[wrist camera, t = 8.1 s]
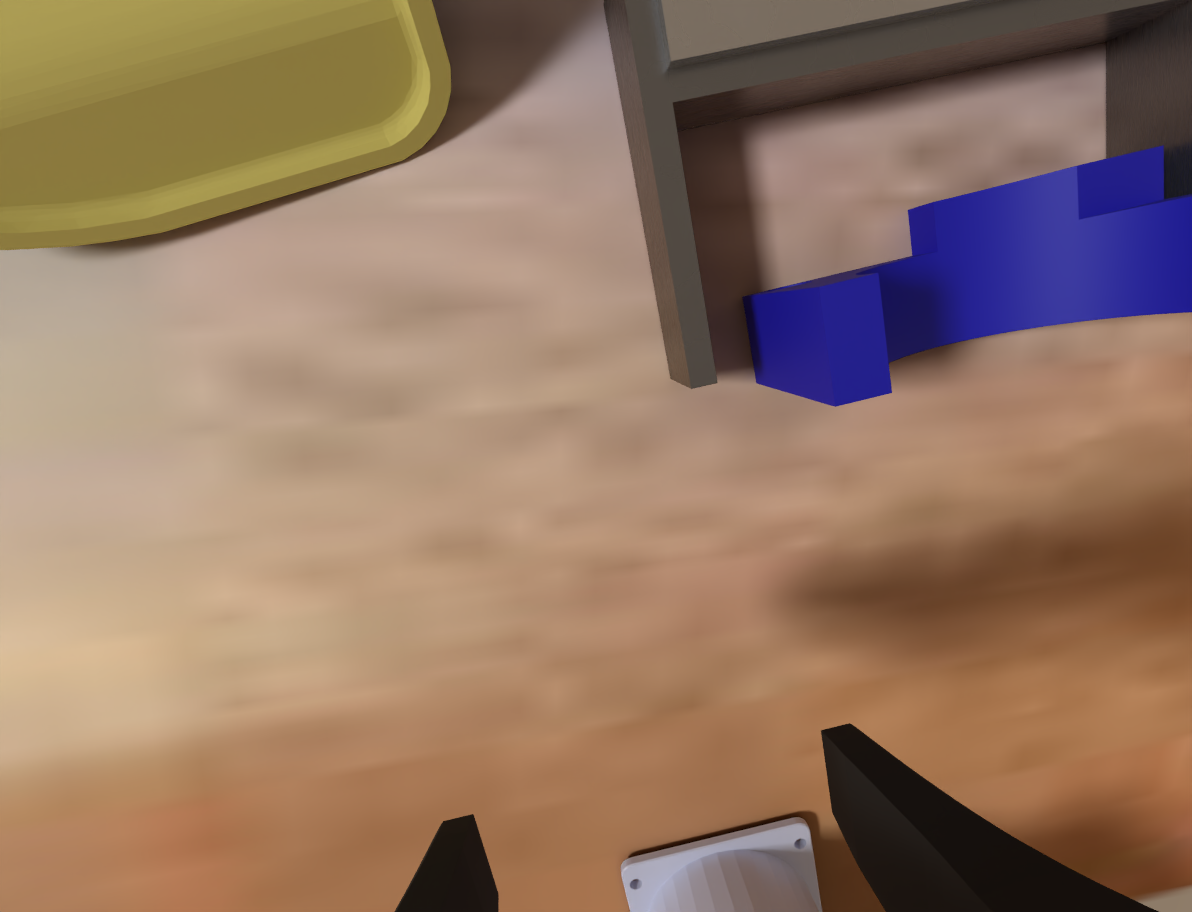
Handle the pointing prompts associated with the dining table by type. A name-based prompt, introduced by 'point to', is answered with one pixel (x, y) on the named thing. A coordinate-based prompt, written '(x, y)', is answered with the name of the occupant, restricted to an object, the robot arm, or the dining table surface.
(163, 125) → the plastic component
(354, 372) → the dining table surface
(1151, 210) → the blue arched block
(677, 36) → the rack
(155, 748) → the dining table surface
